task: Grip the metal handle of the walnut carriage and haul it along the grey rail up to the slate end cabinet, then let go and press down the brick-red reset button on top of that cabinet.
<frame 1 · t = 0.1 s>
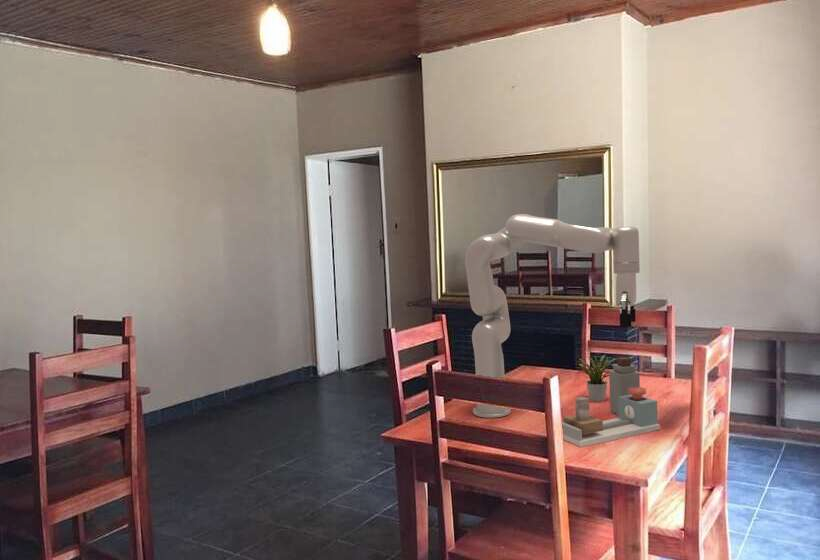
hand: (627, 324, 206), 31 cm above the table, tool pointing down, fingers open, 9 cm apart
carriage: (582, 413, 198), point 7 cm above the table, slide at 0.0 cm
rail bed: (607, 432, 202), on the table
end cabinet: (637, 426, 207), resting on rail bed
reset button: (637, 393, 206), point 10 cm above the table, slide at 0.0 cm
perfume bottle: (625, 413, 221), on the table
house plant: (600, 399, 238), on the table
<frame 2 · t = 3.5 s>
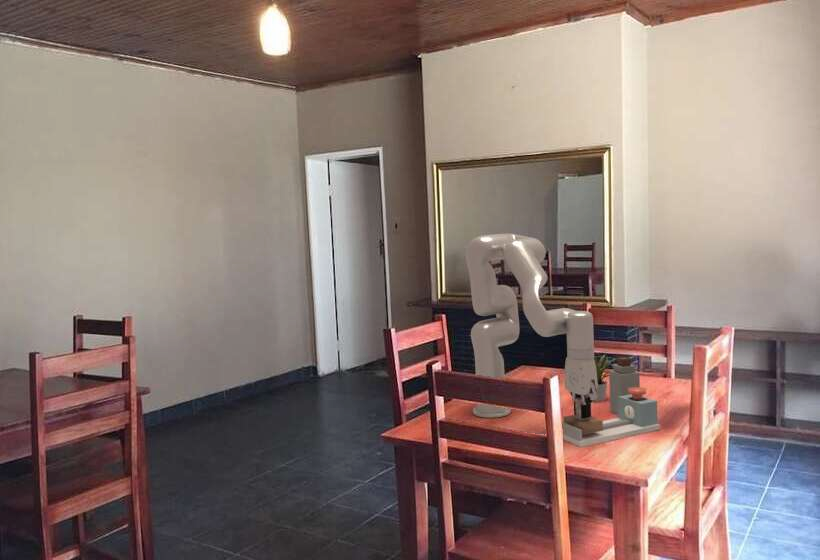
hand: (582, 415, 198), 7 cm above the table, tool pointing down, fingers closed on carriage, 2 cm apart
carriage: (582, 413, 198), point 7 cm above the table, slide at 0.0 cm, touching gripper
everything else where it was.
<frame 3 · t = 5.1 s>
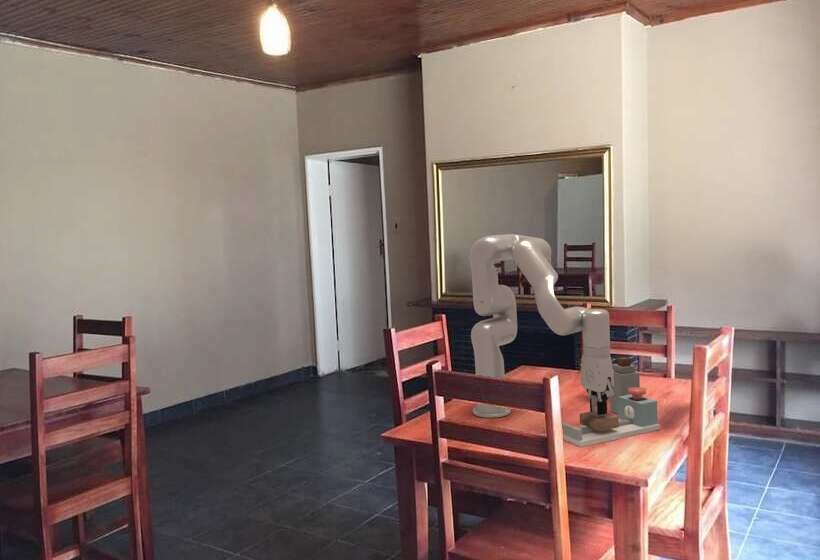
hand: (598, 412, 200), 7 cm above the table, tool pointing down, fingers closed on carriage, 2 cm apart
carriage: (598, 410, 200), point 7 cm above the table, slide at 5.8 cm, touching gripper
everything else where it was.
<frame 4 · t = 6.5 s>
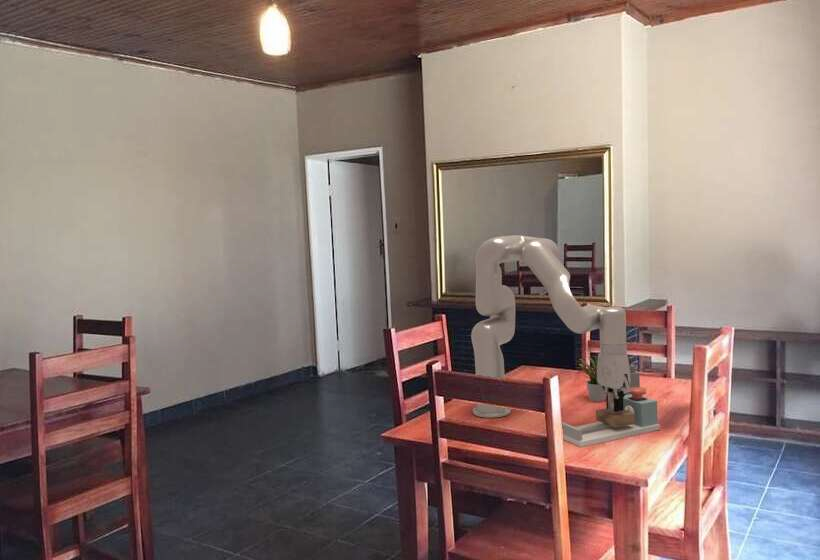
hand: (615, 409, 203), 7 cm above the table, tool pointing down, fingers closed on carriage, 2 cm apart
carriage: (614, 407, 203), point 7 cm above the table, slide at 11.9 cm, touching gripper
everything else where it was.
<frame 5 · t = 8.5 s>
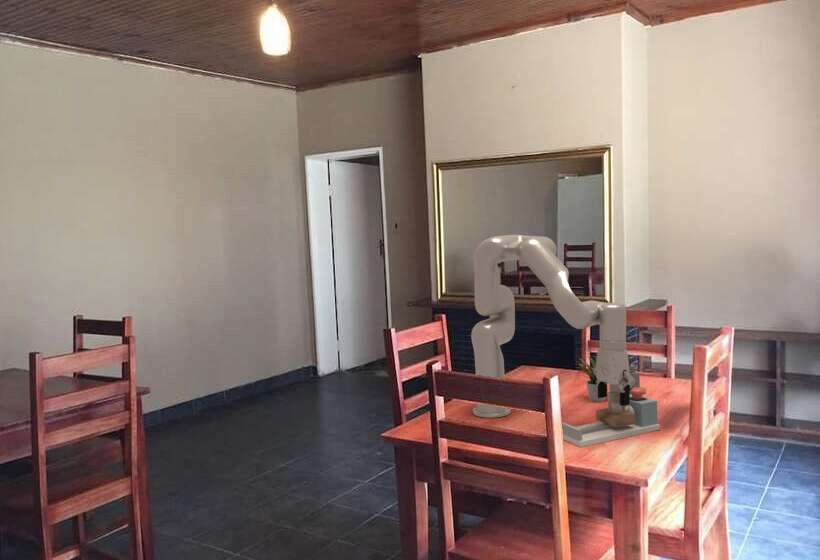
hand: (613, 401, 203), 9 cm above the table, tool pointing down, fingers open, 9 cm apart
carriage: (615, 407, 203), point 7 cm above the table, slide at 12.0 cm
everything else where it was.
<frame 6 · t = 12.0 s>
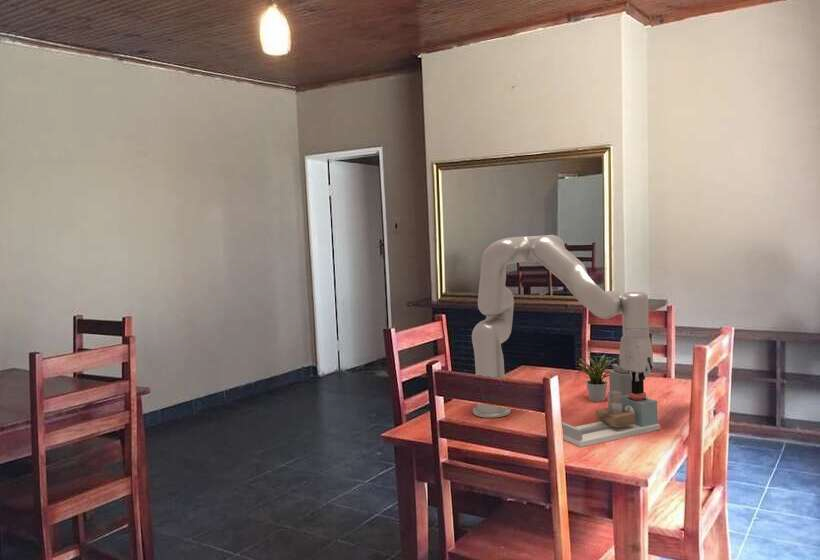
hand: (637, 392, 206), 10 cm above the table, tool pointing down, fingers closed
reset button: (637, 397, 206), point 9 cm above the table, slide at 1.2 cm, touching gripper
everything else where it was.
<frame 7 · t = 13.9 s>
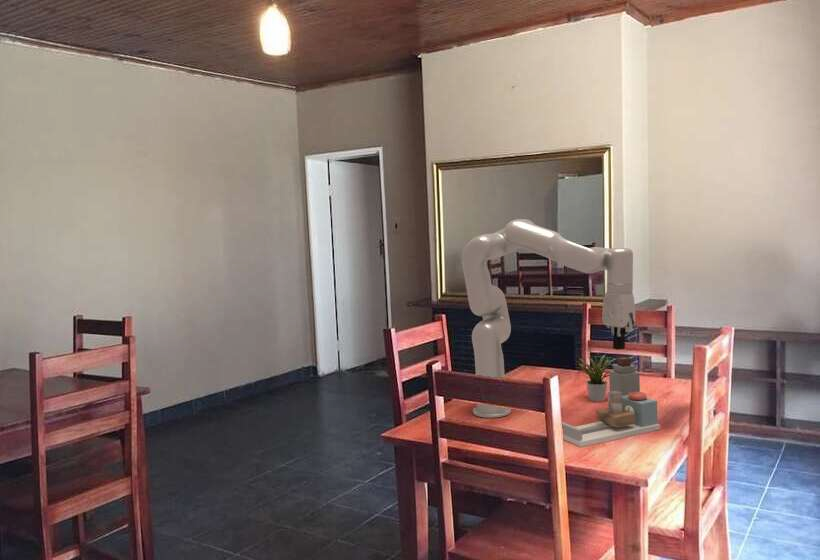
hand: (618, 348, 207), 24 cm above the table, tool pointing down, fingers closed
reset button: (637, 398, 206), point 8 cm above the table, slide at 1.5 cm
everything else where it was.
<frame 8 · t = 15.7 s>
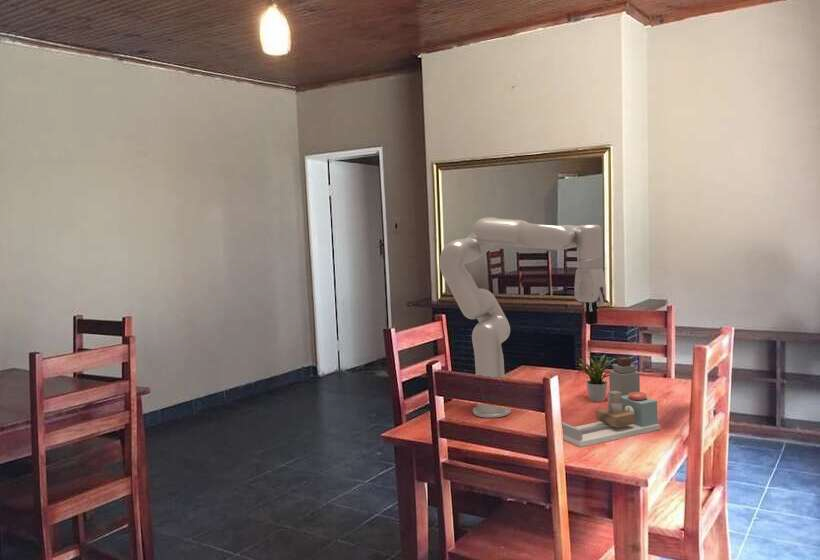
hand: (591, 323, 211), 31 cm above the table, tool pointing down, fingers closed
nothing on the table moved.
at the end: carriage slide at 12.0 cm; reset button slide at 1.5 cm; the gripper is holding nothing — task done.
